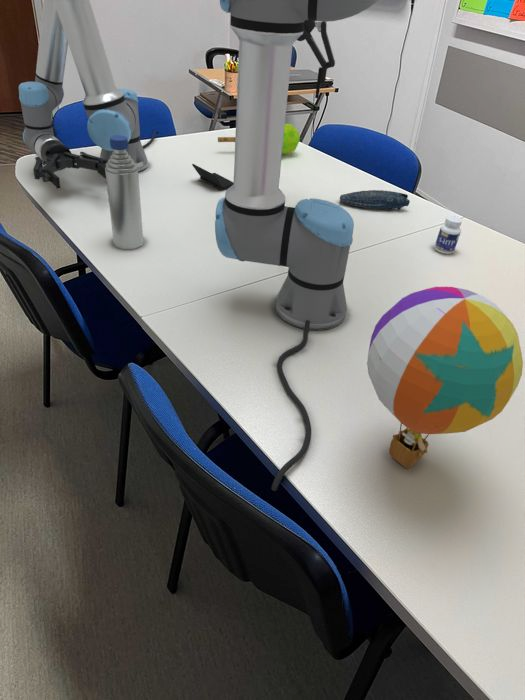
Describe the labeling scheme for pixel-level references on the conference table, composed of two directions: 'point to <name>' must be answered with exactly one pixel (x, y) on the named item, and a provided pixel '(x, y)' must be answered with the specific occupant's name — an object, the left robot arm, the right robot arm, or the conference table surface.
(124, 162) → the bottle
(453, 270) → the conference table surface
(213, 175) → the handheld gaming console
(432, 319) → the toy
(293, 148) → the decorative tree
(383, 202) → the fish model
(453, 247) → the pill bottle
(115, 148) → the cap
